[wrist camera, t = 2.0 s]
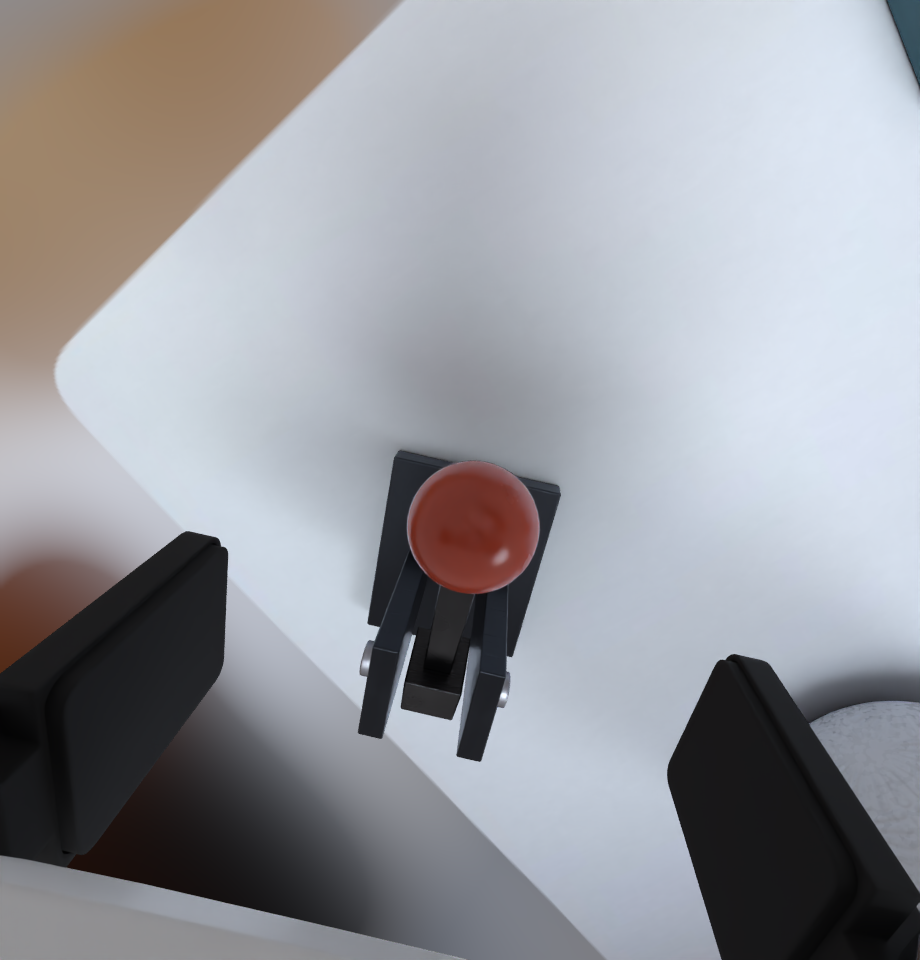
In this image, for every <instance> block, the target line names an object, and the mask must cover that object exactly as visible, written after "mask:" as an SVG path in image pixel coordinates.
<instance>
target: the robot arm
mask: <svg viewBox="0 0 920 960" xmlns="http://www.w3.org/2000/svg"><path fill="white" fill-rule="evenodd" d="M227 570H228V551H227V549H226V548H225V547H221V543H220V541H219V539H218V538H216V537H212V536H207V535H203V534H199V533H194V532H190V531H185V532H184V533H182V534H180V535H179V536H178V537H177V538H175V539H174V540H173V541H171V542H170V543H169V544H168V545H166V546H165V547H164V548H162V549H161V550H160V551H158V552H157V553H156V554H154V555H153V556H152V557H151V558H150V559H148V560H147V561H145V562H144V563H143V564H142V565H140V566H139V567H138V568H136V569H135V570H134V571H133V572H131V573H130V574H129V575H127V576H126V577H125V578H123V579H122V580H121V581H120V582H118V583H117V584H116V585H114V586H113V587H112V588H110V589H109V590H108V591H107V592H105V593H104V594H103V595H101V596H100V597H99V598H98V599H96V600H95V601H94V602H92V603H91V604H90V605H88V606H87V607H86V608H85V609H83V610H82V611H81V612H79V614H77V615H75V616H74V617H73V618H72V619H71V620H69V621H68V622H66V623H65V624H64V625H63V626H61V627H60V628H59V629H57V630H56V631H55V632H54V633H52V634H51V635H50V636H48V637H47V638H46V639H44V640H43V641H42V642H41V643H39V644H38V645H37V646H35V647H34V648H33V649H31V650H30V651H29V652H28V653H26V654H25V655H24V656H23V657H21V658H20V659H19V660H17V661H16V662H15V663H13V664H12V665H11V666H9V667H8V668H7V669H6V670H4V671H3V672H2V673H0V960H467V959H463V958H459V957H454V956H450V955H446V954H442V953H438V952H433V951H429V950H425V949H420V948H416V947H412V946H408V945H403V944H399V943H395V942H391V941H386V940H383V939H378V938H374V937H370V936H365V935H361V934H357V933H353V932H349V931H344V930H340V929H336V928H331V927H327V926H323V925H319V924H314V923H310V922H306V921H301V920H297V919H293V918H288V917H284V916H280V915H275V914H271V913H267V912H262V911H258V910H254V909H249V908H245V907H241V906H236V905H232V904H227V903H223V902H219V901H215V900H210V899H206V898H202V897H197V896H193V895H189V894H184V893H180V892H176V891H171V890H167V889H163V888H158V887H154V886H150V885H145V884H141V883H136V882H131V881H126V880H122V879H117V878H112V877H107V876H102V875H97V874H93V873H88V872H83V871H79V870H74V869H69V868H66V867H67V866H68V864H69V863H70V862H71V860H72V859H73V858H74V856H75V855H76V854H80V855H83V854H86V853H87V852H88V851H89V850H90V849H91V848H92V847H93V846H94V845H95V844H96V842H97V841H98V840H99V838H100V837H101V836H102V834H103V833H104V831H105V830H106V829H107V827H108V826H109V825H110V823H111V822H112V821H113V819H114V818H115V816H116V815H117V814H118V812H119V811H120V810H121V808H122V807H123V806H124V804H125V803H126V802H127V800H128V799H129V798H130V796H131V795H132V793H133V792H134V791H135V790H136V788H137V787H138V785H139V784H140V782H141V781H142V780H143V779H144V777H145V776H146V774H147V773H148V772H149V771H150V769H151V768H152V766H153V765H154V764H155V762H156V761H157V760H158V758H159V757H160V756H161V754H162V753H163V752H164V750H165V749H166V747H167V746H168V745H169V743H170V742H171V741H172V739H173V738H174V737H175V735H176V734H177V733H178V731H179V730H180V729H181V727H182V726H183V724H184V723H185V722H186V720H187V719H188V718H189V716H190V715H191V714H192V712H193V711H194V710H195V708H196V707H197V706H198V704H199V703H200V702H201V700H202V699H203V697H204V696H205V695H206V693H207V692H208V691H209V689H210V688H211V687H212V685H213V684H214V683H215V681H216V680H217V678H218V676H219V674H220V672H221V669H222V666H223V662H224V644H225V619H226V595H227V594H226V593H227ZM667 778H668V784H669V788H670V791H671V794H672V798H673V801H674V804H675V808H676V811H677V814H678V818H679V821H680V824H681V827H682V831H683V834H684V837H685V841H686V844H687V847H688V850H689V854H690V857H691V860H692V864H693V867H694V870H695V873H696V877H697V880H698V883H699V887H700V890H701V893H702V897H703V900H704V903H705V906H706V910H707V913H708V916H709V920H710V923H711V926H712V929H713V933H714V936H715V939H716V943H717V946H718V949H719V953H720V956H721V959H722V960H920V911H919V910H918V908H917V905H918V904H919V903H920V892H919V891H918V889H917V888H916V886H915V885H914V883H913V881H912V880H911V878H910V877H909V875H908V874H907V872H906V871H905V869H904V868H903V866H902V865H901V863H900V862H899V860H898V859H897V857H896V856H895V854H894V853H893V851H892V850H891V848H890V847H889V845H888V844H887V842H886V840H885V839H884V837H883V836H882V834H881V833H880V831H879V830H878V828H877V827H876V825H875V824H874V822H873V821H872V819H871V818H870V816H869V815H868V813H867V812H866V810H865V809H864V807H863V806H862V804H861V803H860V801H859V799H858V798H857V796H856V795H855V793H854V792H853V790H852V789H851V787H850V786H849V784H848V783H847V781H846V780H845V778H844V777H843V775H842V774H841V772H840V771H839V769H838V768H837V766H836V765H835V763H834V762H833V760H832V758H831V757H830V755H829V754H828V752H827V751H826V749H825V748H824V746H823V745H822V743H821V742H820V740H819V739H818V737H817V736H816V734H815V733H814V731H813V730H812V728H811V727H810V725H809V724H808V722H807V721H806V719H805V717H804V716H803V714H802V713H801V711H800V710H799V708H798V707H797V705H796V704H795V702H794V701H793V699H792V698H791V696H790V695H789V693H788V692H787V690H786V689H785V687H784V686H783V684H782V683H781V681H780V680H779V678H778V676H777V675H776V673H775V672H774V670H773V669H772V667H771V666H770V665H769V664H768V663H767V662H765V661H762V660H758V659H754V658H749V657H745V656H740V655H736V654H733V655H730V656H729V657H727V659H726V660H719V661H718V662H717V663H716V665H715V667H714V669H713V671H712V673H711V675H710V677H709V679H708V682H707V684H706V686H705V688H704V690H703V692H702V694H701V696H700V698H699V700H698V703H697V705H696V707H695V709H694V711H693V713H692V715H691V717H690V719H689V721H688V724H687V726H686V728H685V730H684V732H683V734H682V736H681V738H680V740H679V742H678V745H677V747H676V749H675V751H674V753H673V755H672V757H671V759H670V762H669V764H668V770H667Z"/></svg>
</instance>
